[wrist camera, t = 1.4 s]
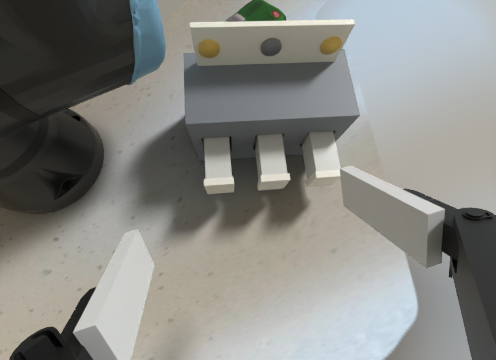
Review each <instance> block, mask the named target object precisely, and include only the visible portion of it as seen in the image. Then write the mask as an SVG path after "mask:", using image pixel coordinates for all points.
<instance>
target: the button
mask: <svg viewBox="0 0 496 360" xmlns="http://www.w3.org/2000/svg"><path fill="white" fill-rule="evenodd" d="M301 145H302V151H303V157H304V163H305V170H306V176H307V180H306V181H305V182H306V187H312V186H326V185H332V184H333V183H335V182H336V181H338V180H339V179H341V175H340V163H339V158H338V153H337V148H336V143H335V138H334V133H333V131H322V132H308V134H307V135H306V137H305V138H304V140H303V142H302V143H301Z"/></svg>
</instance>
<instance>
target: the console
mask: <svg viewBox="0 0 496 360" xmlns="http://www.w3.org/2000/svg"><path fill="white" fill-rule="evenodd" d="M184 90H185V125H186V127H187V130H188V133H189V135H190V138H191V141H192V143H193V146H194V149H195V152H196V154H197V157H198V160H199V161H205V153H204V138H213V137H229V144H230V158H231V159H241V158H256V152H255V143H254V141H255V136H256V135H267V134H282V138H283V145H284V153H285V156H289V155H303V151H302V145H301V143H302V142H303V140H304V138H305V137H306V135H307V134H308V132H322V131H333V133H334V138H335V142H336V141H337V139H338V138H339V137H340V136H341V135H342V134H343V133H344V132H345V131H346V130H347V129H348V128H349V127H350V125H351V124H352V123H353V122H354V121H355V120H356V119H357V118H358V117H359V116H360V113H359V109H358V105H357V101H356V96H355V92H354V88H353V84H352V80H351V75H350V71H349V67H348V63H347V59H346V55H345V50H344V49H341V51H340V53H339V55H338V57H337V59H336V60H335V62H307V63H276V64H245V65H213V66H197V61H196V55H195V53H184Z"/></svg>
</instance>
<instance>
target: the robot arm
mask: <svg viewBox="0 0 496 360" xmlns="http://www.w3.org/2000/svg"><path fill="white" fill-rule="evenodd" d="M164 57H165V38H164V31H163V26H162V21H161V16H160V13H159V9H158V5H157V1H156V0H0V206H1V207H3V208H6V209H9V210H14V211H19V212H24V213H33V214H38V213H47V212H52V211H55V210H58V209H61V208H64V207H66V206H68V205H70V204H71V203H73V202H75V201H76V200H77V199H79V198H80V197H81V196H83V195H84V194H85V193H86V192H87V191H88V190H89V189H90V187H91V186H92V185H93V183H94V182H95V180H96V179H97V177H98V175H99V173H100V170H101V168H102V164H103V158H104V149H103V143H102V140H101V138H100V136H99V134H98V132H97V131H96V129H95V128H94V127H93V126H92V125H91V124H90V123H89V122H88V121H87V120H85V119H84V118H83V117H82V116H81V115H79V114H78V113H76V112H74V111H72V110H70V109H68V108H70V107H72V106H75V105H77V104H80V103H82V102H85V101H87V100H89V99H92V98H94V97H97V96H99V95H102V94H104V93H107V92H109V91H111V90H114V89H116V88H119V87H121V86H124V85H131V84H133V83H134V82H135V81H136V80H137V79H138V78H141V77H143V76H145V75H147V74H149V73H151V72H153V71H155V70H157V69H158V68H159V67H160V65H161V63H162V62H163V60H164ZM340 175H341V185H342V195H343V205H344V206H345V207H346V208H347V209H349V210H350V211H351V212H353V213H354V214H355V215H357V216H358V217H359V218H361V219H362V220H363V221H365V222H366V223H367V224H368V225H370V226H371V227H372V228H374V229H375V230H376V231H378V232H379V233H380V234H382V235H383V236H384V237H386V238H387V239H388V240H390V241H391V242H392V243H394V244H395V245H396V246H397V247H399V248H400V249H401V250H403V251H404V252H405V253H407V254H408V255H409V256H411V257H412V258H413V259H415V260H416V261H417V262H419V263H420V264H421V265H423V266H424V267H425V268H428V267H431V266H434V265H437V264H440V263H442V251H443V252H444V253H446V254H447V255H449V256H450V269H449V277H451V278H452V276H453V279H454V283H455V288H456V292H457V296H458V300H459V305H460V309H461V313H462V318H463V322H464V326H465V331H466V335H467V340H468V344H469V348H470V353H471V357H472V360H496V215H494V214H493V213H491V212H489V211H486V210H483V209H478V208H462V209H456V208H454V207H451V206H449V205H447V204H445V203H442V202H440V201H438V200H435V199H433V198H431V197H429V196H425V195H424V194H422V193H420V192H417V191H414V190H409V189H400V188H398V187H396V186H394V185H392V184H390V183H387V182H385V181H383V180H381V179H379V178H377V177H375V176H372V175H370V174H368V173H366V172H364V171H362V170H359V169H357V168H355V167H353V166H351V165H350V166H347V167H344V168H340ZM153 269H154V263H153V261H152V259H151V256H150V254H149V252H148V250H147V248H146V246H145V243H144V241H143V239H142V237H141V235H140V233H139V231H138V229H136V230H133V231H129V232H126V233H125V234H124V235H123V237H122V239H121V241H120V243H119V245H118V247H117V249H116V251H115V253H114V255H113V257H112V258H111V260H110V262H109V264H108V266H107V268H106V270H105V272H104V274H103V276H102V278H101V280H100V281H99V283H98V285H97V287H95V288H92V289H90V290H89V291H88V292H87V293H86V294H85V295H84V296H83V297H82V298H81V300H80V301H79V303H78V305H77V307H76V308H75V309H76V310H74V312H73V314H72V315H71V318H70V319H69V321H68V322H67V324H66V326H65V328H64V329H63V331H62V333H61V334H60V333H59V332H58V330H57V329H56V328H54V327H46V328H44V329H41V330H39V331H37V332H36V333H34V334H32V335H31V336H29V337H28V338H27V339H26V340H24V341H23V342H22V343H21V344H20V345H19V346H18V347H17V348H16V349H15V350H14V352H13V353H12V355H11V357H10V360H131V357H132V353H133V349H134V345H135V341H136V337H137V333H138V329H139V325H140V321H141V317H142V313H143V309H144V305H145V301H146V297H147V293H148V289H149V285H150V281H151V277H152V273H153Z"/></svg>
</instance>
